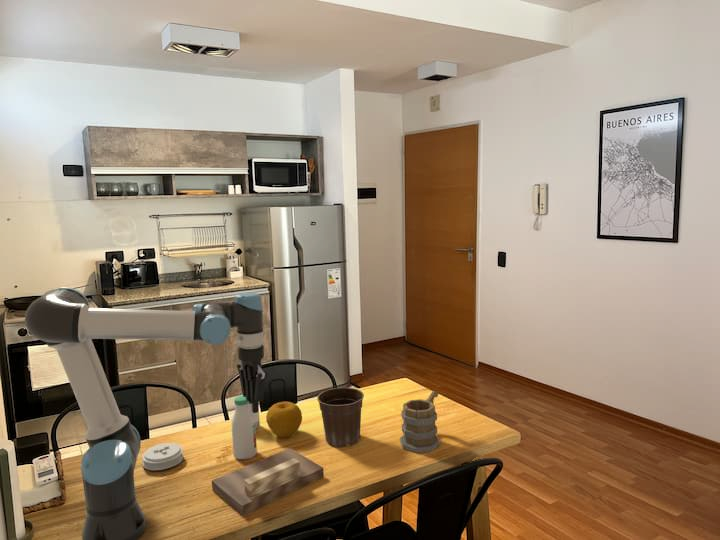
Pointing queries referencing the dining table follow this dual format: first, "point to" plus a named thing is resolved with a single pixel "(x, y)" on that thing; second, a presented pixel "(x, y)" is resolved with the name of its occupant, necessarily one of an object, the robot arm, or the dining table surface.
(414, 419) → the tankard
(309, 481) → the stool seat
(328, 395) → the plant pot
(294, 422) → the apple
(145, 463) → the lid
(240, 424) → the milk bottle
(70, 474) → the dining table surface
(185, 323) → the robot arm
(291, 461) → the folding leg
